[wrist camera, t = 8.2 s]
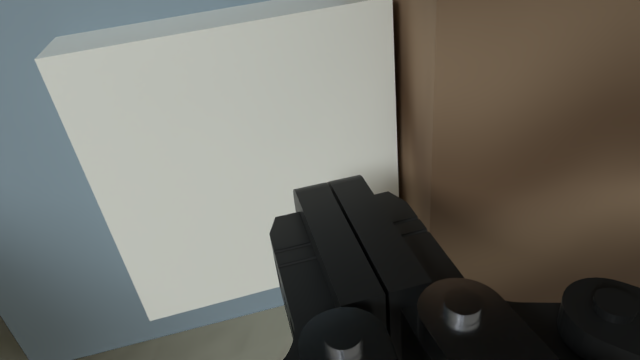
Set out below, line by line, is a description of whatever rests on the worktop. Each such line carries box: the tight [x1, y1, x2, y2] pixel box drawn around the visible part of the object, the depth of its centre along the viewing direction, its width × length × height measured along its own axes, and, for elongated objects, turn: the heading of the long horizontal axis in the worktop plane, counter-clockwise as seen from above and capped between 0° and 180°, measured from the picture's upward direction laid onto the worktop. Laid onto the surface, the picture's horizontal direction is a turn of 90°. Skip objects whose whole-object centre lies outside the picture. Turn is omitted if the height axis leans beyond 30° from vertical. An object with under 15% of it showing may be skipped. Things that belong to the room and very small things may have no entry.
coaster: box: [34, 0, 399, 321], centre depth 13 cm, size 8×8×2 cm
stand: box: [392, 0, 640, 303], centre depth 15 cm, size 14×12×4 cm
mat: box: [0, 0, 284, 360], centre depth 13 cm, size 16×12×1 cm
